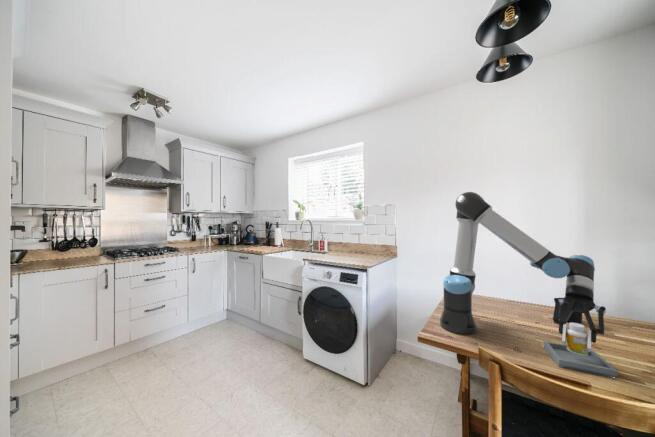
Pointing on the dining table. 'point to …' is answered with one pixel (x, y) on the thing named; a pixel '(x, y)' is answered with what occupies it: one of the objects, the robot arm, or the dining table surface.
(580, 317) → the pen holder
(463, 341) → the dining table surface
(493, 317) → the dining table surface
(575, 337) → the supplement bottle
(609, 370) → the tray
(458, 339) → the dining table surface
